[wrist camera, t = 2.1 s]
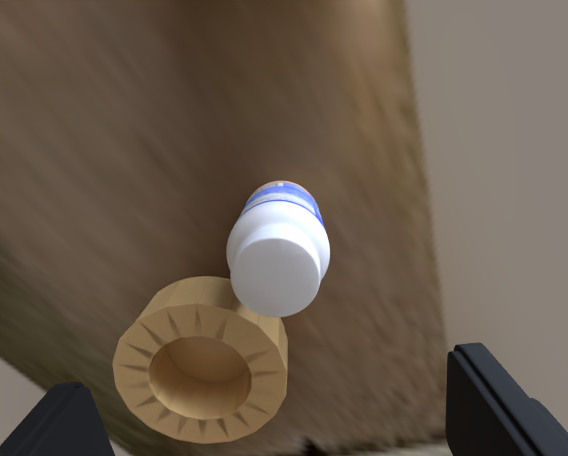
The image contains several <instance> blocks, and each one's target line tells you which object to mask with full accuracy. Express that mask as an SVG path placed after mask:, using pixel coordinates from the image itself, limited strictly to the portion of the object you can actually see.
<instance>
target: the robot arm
mask: <svg viewBox="0 0 568 456" xmlns="http://www.w3.org/2000/svg"><path fill="white" fill-rule="evenodd" d="M446 438H447V442H448V445H449V448H450V450H451V452H452V454H453V456H568V432H567V431H566V430H565V429H564V428H563V427H562V426H561V425H560V423H559V422H558V421H557V420H556V419H555V418H554V417H553V415H552V414H551V413H550V412H549V411H548V410H547V409H546V408H545V407H544V406H543V405H542V404H541V403H540V402H539V401H537V400H535V399H534V398H529V397H528V396H527V394H526V393H525V392H524V391H523V390H522V389H521V387H520V386H519V385H518V384H517V383H516V382H515V381H514V379H513V378H512V377H511V376H510V375H509V374H508V372H507V371H506V370H505V369H504V368H503V367H502V366H501V364H500V363H499V362H498V361H497V360H496V359H495V357H494V356H493V355H492V354H491V353H490V352H489V351H488V349H487V348H486V347H485V346H484V345H483V344H482V343H469V344H460V345H455V347H454V351H452V352H449V353H448V358H447V395H446ZM0 456H115V454H114V451H113V449H112V446H111V444H110V441H109V439H108V436H107V433H106V431H105V428H104V426H103V423H102V420H101V418H100V415H99V413H98V410H97V408H96V405H95V402H94V400H93V397H92V395H91V392H90V390H89V389H88V388H87V387H85V386H84V385H83V384H82V383H81V382H73V383H63V384H57V385H54V386H53V387H52V388H51V389H50V390H49V391H48V392H47V393H46V395H45V396H44V397H43V398H42V399H41V400H40V401H39V402H38V404H37V405H36V406H35V407H34V408H33V409H32V410H31V412H30V413H29V414H28V415H27V416H26V417H25V418H24V419H23V421H22V422H21V423H20V424H19V425H18V426H17V427H16V429H15V430H14V431H13V432H12V433H11V434H10V435H9V437H8V438H7V439H6V440H5V441H4V442H3V443H2V444H1V446H0Z"/></svg>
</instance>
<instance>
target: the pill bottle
mask: <svg viewBox="0 0 568 456" xmlns="http://www.w3.org/2000/svg"><path fill="white" fill-rule="evenodd" d="M226 256H227V262H228V266H229V269H230V271H231V273H230V279H231V285H232V288H233V291H234V293H235V295H236V297H237V298H238V299H239V301H240V302H241V303H242V304H243V305H244V306H245V307H247V308H248V309H249V310H251V311H253V312H254V313H257V314H259V315H262V316H266V317H286V316H290V315H293V314H295V313H298V312H299V311H301V310H303V309H304V308H305V307H307V306H308V305H309V304H310V303H311V301H312V300H313V299H314V297H315V296H316V294H317V292H318V289H319V286H320V281H321V280H322V278H323V277H324V275H325V273H326V271H327V268H328V265H329V259H330V247H329V242H328V238H327V234H326V231H325V228H324V225H323V222H322V219H321V215H320V212H319V209H318V206H317V204H316V202H315V200H314V198H313V197H312V196H311V195H310V193H309V192H307V191H306V190H305V189H304V188H302V187H301V186H299V185H297V184H295V183H292V182H287V181H275V182H270V183H267V184H265V185H263V186H261V187H260V188H258V189H257V190H256V191H255V192H254V193H253V194H252V195H251V196H250V198H249V199H248V201H247V203H246V205H245V207H244V209H243V211H242V212H241V214H240V216H239V218H238V220H237V221H236V223H235V225H234V227H233V229H232V231H231V233H230V235H229V238H228V242H227V248H226Z"/></svg>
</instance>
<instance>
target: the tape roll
mask: <svg viewBox="0 0 568 456" xmlns="http://www.w3.org/2000/svg"><path fill="white" fill-rule="evenodd" d="M112 365H113V372H114V379H115V385H116V389H117V390H118V392H119V394H120V395H121V397H122V399H123V400H124V402H125V404H126V405H127V407H128V409H129V410H130V411H131V412H132V413H133V414H134V415H135V416H137V417H138V418H139V419H140V420H141V421H143V422H144V423H145V424H146V425H147V426H148V427H150V428H152V429H154V430H156V431H158V432H160V433H163V434H165V435H167V436H169V437H171V438H174V439H177V440H182V441H188V442H194V443H200V444H209V443H221V442H230V441H234V440H236V439H239V438H242V437H244V436H247V435H250V434H252V433H255V432H256V431H257V430H259V429H260V428H261V427H262V426H263V425H265V424H266V423H267V422H268V421H269V420H271V419H272V418H273V417H274V416H275V415H276V413H277V411H278V409H279V407H280V405H281V403H282V402H283V400H284V398H285V396H286V387H287V336H286V332H285V328H284V325H283V323H282V320H281V318H280V317H266V316H262V315H259V314H257V313H254V312H253V311H251V310H249V309H248V308H247V307H245V306H244V305H243V304H242V303H241V302H240V301H239V299H238V298H237V297H236V295H235V293H234V291H233V288H232V285H231V280H230V279H227V278H221V277H213V276H200V277H192V278H186V279H183V280H180V281H177V282H174V283H172V284H170V285H168V286H166V287H165V288H163V289H162V290H160V291H159V292H157V293H156V294H155V295H154V296H153V297H152V298H151V300H150V301H149V302H148V303H147V304H146V305H145V306H144V308H143V309H142V310H141V311H140V312H139V314H138V315H137V316H136V318H135V319H134V320H133V322H132V323H131V324H130V326H129V327H128V328H127V330H126V331H125V332H124V334H123V335H122V336H121V338H120V340H119V343H118V346H117V349H116V352H115V356H114V359H113V363H112Z"/></svg>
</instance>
